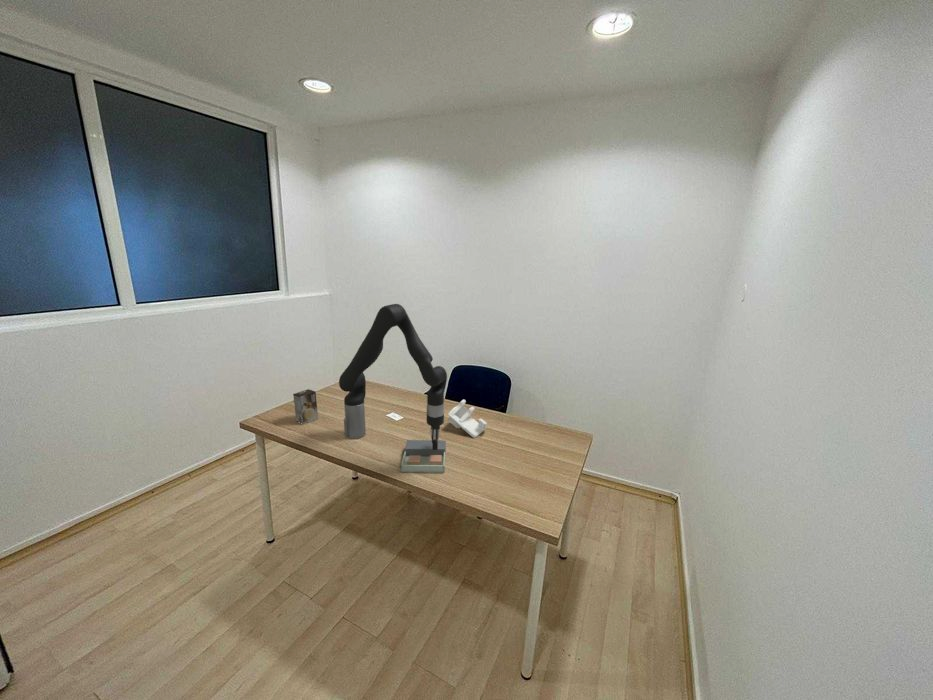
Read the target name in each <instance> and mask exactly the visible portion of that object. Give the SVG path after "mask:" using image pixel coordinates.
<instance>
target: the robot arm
mask: <svg viewBox="0 0 933 700" xmlns="http://www.w3.org/2000/svg"><path fill="white" fill-rule="evenodd" d="M393 327H394V328H395V327H398V328H399V330H400V332H402V334H403V336H404V338H405V343H406V347H407V350H408V353H409V355H410V356H411V358H412V359H413V361H414V362H415V364H416V365H417V366H418V368H419V372H420V375H421V378H422V379H423V381H424V383H425V384H427V385H428V386H430V387H429V389H428V390H427V394H426V395H427V396H426V399H427V400H426V401H427V402H426V424H427V425H428V426H430V431H429V432H430V438H431V440H432V443H433V448H432V449H433V450H437V449H438V440H439V437H440V431H441V426H442V425H443V424H444V423H445V397H444V396H445V390H446V385H447V382H448V380H447V379H448V374H447V371H446V369H445V368H444V367H443V366H439V365H437V366H435V367H433V364H432V361H433V358H434V357H433V356H432V354H431V353H430V352H429V350H428V349H427V347H426V346H425V344H424V342H423V341H422V339H421V338H420V337H419V335H418V332H417V331H416V329H415V327H414V325H413V323H412V320H411V319H410V317H409V314H408V313H407V310H406V309H405V307H404V306H403V305H402V304H399V303H392V304H386V305H384V306H381V308H379V310H378V311H377V314H376V316H375V318H374V320H373V323H372V325H371V327H370V329H369V331H368V332H367V334H366V335H365V338H364V339H363V341H362V342H361V344H360V346H359V347H358V348H357V350H356V353H355V354H354V356H353V358H352V359H351V362H350V363H349V364H348V365H347V367H346V368H345V369H344V371H343V372H342V373H341V375H340V377H339V379H338V385H339V388H340V390H341V391H342V392H343V391H344V392H346V393H347V394H346V396H345V397H344V399H343V402H344V419H343V426H344V427H343V428H344V438H348V439H351V440H356V439H360V438H363V437H364V436H366V434H367V433H366V432H367V430H366V413H365V399H366V389H367V388H366V386H367V385H366V376H365V374H364V372H365V371H366V370H367V369H369V368H370V367H371V366H372V365H373V364H374V363H375V362H376V361H377V360H378V358H379V357H380V355H381V353H382V351H383V350H384V339H385V337H386V335H387V333H389V331H390V330H391V329H392V328H393Z"/></svg>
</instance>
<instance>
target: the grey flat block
mask: <svg viewBox="0 0 933 700" xmlns="http://www.w3.org/2000/svg"><path fill="white" fill-rule="evenodd" d="M446 444H447V441H446V440H445V439H444V440H443V439H442V440H441V439H438V449H437V450H433V449H432V448H433V443H432V439H431V440H430V439H426V440H425V439H407V440H406V443H405V446H404V452H405V451H406V456H409V455H421V456H428V457H430V455H442V457H444V452H445V453H446V452H447V451H446V450H447V449H446V448H447V445H446Z"/></svg>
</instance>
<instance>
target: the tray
mask: <svg viewBox="0 0 933 700" xmlns="http://www.w3.org/2000/svg"><path fill="white" fill-rule="evenodd" d="M408 459H409V456H406V451H405V450H404V453H403V457H402V460H401V464H400V472H401V473H439V474H440V473H442V474H443V473H445V469H446V452H444V457H442V464H441V465H430V457H428V456H421V463H420V465H408Z"/></svg>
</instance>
